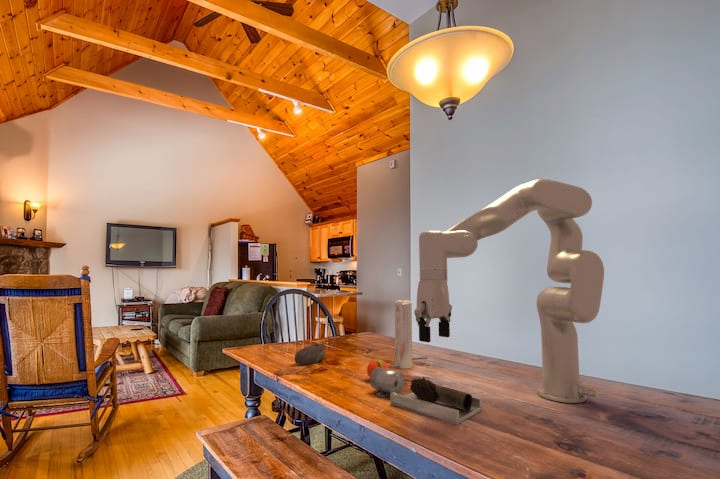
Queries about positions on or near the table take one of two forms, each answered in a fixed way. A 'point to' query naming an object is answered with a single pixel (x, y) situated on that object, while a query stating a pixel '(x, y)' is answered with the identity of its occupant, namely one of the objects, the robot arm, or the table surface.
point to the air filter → (403, 334)
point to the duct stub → (386, 381)
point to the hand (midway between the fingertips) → (434, 339)
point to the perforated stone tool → (310, 354)
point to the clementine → (375, 365)
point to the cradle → (435, 407)
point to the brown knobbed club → (440, 394)
